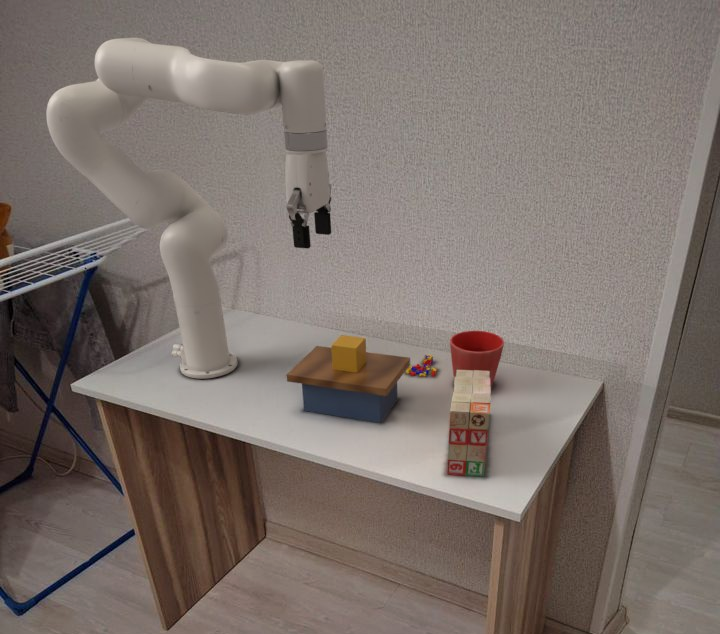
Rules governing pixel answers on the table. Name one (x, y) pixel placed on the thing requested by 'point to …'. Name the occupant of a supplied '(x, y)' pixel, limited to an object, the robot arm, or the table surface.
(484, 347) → the flower pot
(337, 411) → the blue box
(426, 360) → the building blocks
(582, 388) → the table surface
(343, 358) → the mustard block
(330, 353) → the wooden board
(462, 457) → the stack of blocks
